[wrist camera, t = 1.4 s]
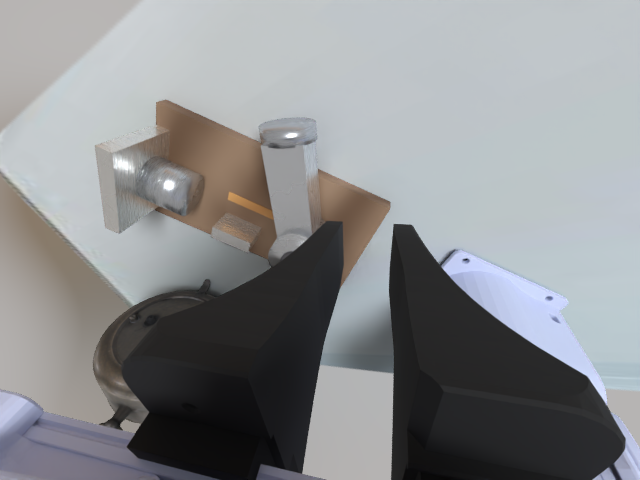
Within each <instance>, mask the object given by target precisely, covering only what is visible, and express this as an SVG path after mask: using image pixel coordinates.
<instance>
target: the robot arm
mask: <svg viewBox="0 0 640 480" xmlns="http://www.w3.org/2000/svg"><path fill="white" fill-rule="evenodd" d="M465 258H468V260H465V261H463V259H465ZM343 267H344V250H343V222H342V221H326V222H325V223H324V224H323V225H322V226H321V227H320V228H319V229H318V230H316V231H315V232H314V233H313V234H312V235H311V236H310V237H309V238H308V239H307V240H306V241H305V242H304V243H302V244H301V245H300V246H299V247H298V248H297V249H296V250H294V251H293V252H292V253H291V254H289V255H288V256H287V257H286V258H284V259H283V260H282V261H280V262H279V263H278V264H276V265H275V266H273V267H272V268H270V269H269V270H267V271H266V272H264V273H263V274H261V275H259V276H258V277H256V278H254V279H252V280H250V281H248V282H247V283H245V284H243V285H241V286H239V287H237V288H235V289H233V290H231V291H229V292H227V293H225V294H223V295H221V296H218V297H216V298H214V299H211V300H209V301H206V302H204V303H201V304H199V305H196V306H194V307H191V308H188V309H185V310H182V311H179V312H177V313H174V314H171V315H168V316H165V317H162V318H160V319H159V320H158V321H157V322H156V323H155V325H154V326H153V327H152V328H151V329H150V330H149V332H148V333H147V334H146V335H145V336H144V338H143V339H142V340H141V341H140V342H139V343H138V345H137V346H136V347H135V348H134V349H133V351H132V352H131V353H130V354H129V355H128V356H127V358H126V359H125V360H124V361H123V364H122V366H121V371H122V376H123V379H124V381H125V382H126V384H127V386H128V387H129V388H130V389H131V391H132V392H133V393H134V394H135V396H136V397H137V398H138V399H139V400H140V402H141V403H142V404H143V405H144V407H145V408H146V409H147V410H148V411H149V413H148V415H147V416H146V418H145V419H144V421H143V422H142V424H141V426H140V427H139V429H138V430H137V432H136V433H131V432H127V431H122V430H118V429H114V428H110V427H106V426H102V425H98V424H93V423H89V422H85V421H81V420H77V419H73V418H68V417H64V416H60V415H56V414H52V413H48V412H44V411H43V408H42V407H41V406H40V405H38V404H37V403H36V402H35V401H33V400H32V399H30V398H28V397H26V396H24V395H21V394H18V393H14V392H10V391H6V390H1V389H0V480H325V479H321V478H317V477H313V476H308V475H304V474H302V471H303V464H304V457H305V450H306V444H307V436H308V431H309V424H310V418H311V412H312V406H313V400H314V394H315V389H316V383H317V377H318V371H319V366H320V361H321V355H322V350H323V345H324V341H325V337H326V333H327V330H328V327H329V323H330V320H331V317H332V313H333V310H334V306H335V303H336V300H337V296H338V293H339V289H340V285H341V279H342V273H343ZM547 296H549V297H547ZM389 297H390V309H391V321H392V332H393V345H394V388H393V390H394V391H393V435H392V472H391V480H640V448H639V446H638V444H637V443H636V441H635V440H634V438H633V437H632V435H631V434H630V432H629V430H628V429H627V428H626V426H625V425H624V423H623V422H622V420H621V419H620V418H619V417H618V416H617V415H615V414H613V413H612V412H610V410H609V408H608V407H607V396H606V391H605V387H604V385H603V382H602V380H601V378H600V376H599V374H598V373H597V371H596V370H595V368H594V366H593V365H592V363H591V361H590V360H589V358H588V357H587V355H586V353H585V352H584V350H583V348H582V347H581V345H580V344H579V342H578V340H577V339H576V337H575V335H574V334H573V332H572V331H571V329H570V327H569V326H568V324H567V323H566V321H565V319H564V318H563V316H562V314H561V313H560V310H561V309H563V308H564V307H566V306H567V305H568V300H567V299H566V298H565V297H564V296H562V295H559V294H557V293H555V292H553V291H551V290H548V289H546V288H544V287H542V286H540V285H537V284H535V283H533V282H531V281H529V280H526V279H524V278H522V277H520V276H518V275H515V274H513V273H511V272H509V271H507V270H504V269H502V268H500V267H498V266H496V265H493V264H491V263H489V262H487V261H484V260H482V259H480V258H478V257H476V256H473V255H471V254H469V253H467V252H465V251H462V250H457V251H455V252H453V253H452V254H451V255H450V257H449V258H448V259H447V260H446V261H445V262H444V263H443V264H442V265H441V266H440V265H439V264H438V262H437V261H436V260H435V258H434V257H433V256H432V254H431V253H430V252H429V251H428V249H427V248H426V246H425V245H424V243H423V242H422V240H421V239H420V237H419V236H418V234H417V232H416V230H415V229H414V227H413V226H412V225H404V224H394V227H393V238H392V249H391V261H390V277H389Z"/></svg>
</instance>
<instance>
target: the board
mask: <svg viewBox="0 0 640 480" xmlns="http://www.w3.org/2000/svg"><path fill="white" fill-rule="evenodd" d="M156 124H157V125H159V126H161V127H163V128H165V129H168V130H170V137H169V161H172V162H174V163H176V164H178V165H181V166H183V167H185V168H187V169H190V170H192V171H194V172H196V173H199V174H201V175H202V176H203V178H204V189H203V193H202V196H201V198H200V200H199V202H198V204H197V206H196V207H195V208H194V210H193V211H192V212H191V213H189V214H188V215H186V216H181V215H179V214H176V213H174V212H172V211H170V210H167V209H165V208H163V207H160V206H159V207H157V208H156V209H155V210H156V211H158V212H161V213H163V214H165V215H167V216H170V217H172V218H174V219H177V220H179V221H181V222H183V223H186V224H188V225H190V226H193V227H195V228H197V229H200V230H202V231H204V232H206V233H209V234H211V233H212V227H213V226H214V225H215V224H216V223H217V222H218V221H219V220H220V219H221V218H222V217H223V216H224V215H225V214H226V213H229V214H231V215H234V216H236V217H238V218H240V219H243V220H245V221H247V222H249V223H252V224H254V225H256V226H259V227H261V232H260V235H259V237H258V239H257V240H256V242H255V243H254V245H253V246H252V248H251V249H250V252H252V253H255V254H257V255H259V256H261V257H264V258H266V259H268V254H269V250H270V248H271V247H272V245H273V243H274V242H275V240H276V238H277V233H276V228H275V222H274V217H273V211H272V206H271V200H270V195H269V189H268V184H267V178H266V173H265V167H264V162H263V156H262V151H261V145H262V143H260V142H258V141H255V140H253V139H251V138H249V137H247V136H245V135H242V134H240V133H238V132H236V131H234V130H231V129H229V128H227V127H225V126H223V125H220V124H218V123H216V122H214V121H212V120H209V119H207V118H205V117H203V116H201V115H198V114H196V113H194V112H192V111H190V110H188V109H185V108H183V107H181V106H179V105H177V104H174V103H172V102H170V101H168V100H163V101H159V102H156ZM318 180H319V193H320V207H321V218H322V219H323V220H324V221H325V222H326V221H342V222H343V250H344V267H343V273H342V279H341V285H340V287H341V286H342V284H343V283H344V281H345V280H346V278H347V276H348V275H349V273H350V272H351V270H352V268H353V267H354V265H355V264H356V262H357V261H358V259H359V257H360V256H361V254H362V253H363V251H364V249H365V248H366V246H367V245H368V243H369V241H370V240H371V238H372V237H373V235H374V234H375V232H376V230H377V229H378V227H379V226H380V224H381V222H382V221H383V219H384V218H385V216H386V215H387V213H388V211H389V210H390V202H389V201H387V200H385V199H383V198H380V197H378V196H376V195H374V194H372V193H369V192H367V191H365V190H363V189H361V188H358V187H356V186H354V185H352V184H350V183H348V182H345V181H343V180H341V179H339V178H337V177H334V176H332V175H330V174H328V173H326V172H323V171H321V170H319V169H318Z"/></svg>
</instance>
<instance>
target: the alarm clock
mask: <svg viewBox="0 0 640 480" xmlns="http://www.w3.org/2000/svg"><path fill="white" fill-rule="evenodd" d="M209 285H210V281H209V280H205V281H204V282H203V285H202V286H201V288H200V290H199V291H198V292H195V291H174V292H170V293H165V294H161V295H158V296H155V297H152V298H149V299H147V300H145V301H142V302H140V303H138V304H137V305H135V306H133V307H132V308H130V309H128V310H127V311H126V312H124V313H123V314H122V315H120V316H119V317H118V318H117V319H116V320H115V321H114V322H113V323H112V324H111V325H110V326H109V327H108V329H107V330H106V331H105V333H104V334H103V335H102V337H101V339H100V341H99V343H98V345H97V347H96V350H95V353H94V358H93V370H94V374H95V377H96V380H97V381H98V384H99V385H100V387H101V389H102V391H103V392H104V394H105V396H106V397H107V400H108V402H109V404H110V406H111V407H112V409H113V410H114V411H115V414H114V416H113V417H112V418H111V419H110V420H108V421H107V422H105V423H101V424H99V425H102V426H106V427H110V428H114V429H118V430H122V428H121V427H120V424H121V422H122V421H123V420H124V419H126V420H129V421H131V422H135V423H140V424H142V422H143V421H144V419H145V418H146V416H147V415H148V413H149V411H148V410H147V409H146V408H145V407H144V405H143V404H142V403H141V402H140V400H139V399H138V398H137V397H136V396H135V394H134V393H133V392H132V391H131V389H130V388H129V387H128V386H127V384H126V382H125V381H124V379H123V376H122V371H121V366H122V364H123V361H124V360H125V359H126V358H127V356H128V355H129V354H130V353H131V352H132V351H133V349H134V348H135V347H136V346H137V345H138V343H139V342H140V341H141V340H142V339H143V338H144V336H145V335H146V334H147V333H148V332H149V330H150V329H151V328H152V327H153V326H154V325H155V323H156V322H157V321H158V320H159V319H160V318H162V317H165V316H168V315H171V314H174V313H177V312H179V311H182V310H185V309H188V308H191V307H194V306H196V305H199V304H201V303H204V302H206V301H209V300H211V299H214V298H215V297H213V296H211V295H208V294H206V291H207V289H208V287H209ZM122 431H123V430H122Z"/></svg>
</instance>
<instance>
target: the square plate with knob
mask: <svg viewBox="0 0 640 480" xmlns="http://www.w3.org/2000/svg"><path fill="white" fill-rule="evenodd" d="M169 137H170V130H168V129H165V128H163V127H161V126H159V125H157V124H156V125H153V126H150V127H147V128H144V129H141V130H138V131H135V132H132V133H130V134H127V135H124V136H121V137H118V138H115V139H112V140H109V141H106V142H104V143H101V144H98V145H95V151H96V159H97V167H98V175H99V182H100V190H101V198H102V206H103V214H104V222H105V228H107V229H109V230H111V231H114V232H116V233H118V234H120V233H122V232H123V231H124V230H126V229H127V228H129V227H130V226H132V225H133V224H134V223H136V222H137V221H139V220H140V219H142V218H143V217H144V216H146V215H147V214H149V213H150V212H152V211H153V210H154V209H156V208H157V207H159V206H160V207H163V208H165V209H167V210H170V211H172V212H174V213H176V214H179V215H181V216H186V215H188V214H189V213H191V212H192V211H193V210H194V208H195V207H196V206H197V204H198V202H199V200H200V198H201V196H202V193H203V189H204V178H203V176H202V175H201V174H199V173H196V172H194V171H192V170H190V169H187V168H185V167H183V166H181V165H178V164H176V163H174V162H172V161H169ZM260 232H261V227H259V226H256V225H254V224H252V223H249V222H247V221H245V220H243V219H240V218H238V217H236V216H234V215H231V214H229V213H226V214H225V215H224V216H223V217H222V218H221V219H220V220H219V221H218V222H217V223H216V224H215V225H214V226H213V227H212V233H211V237H212V238H214V239H217V240H219V241H221V242H224V243H226V244H228V245H230V246H233V247H235V248H237V249H240V250H242V251H244V252H247V253H248V252H249V251H250V249H251V248H252V246H253V245H254V243H255V242H256V240H257V239H258V237H259V235H260Z"/></svg>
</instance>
